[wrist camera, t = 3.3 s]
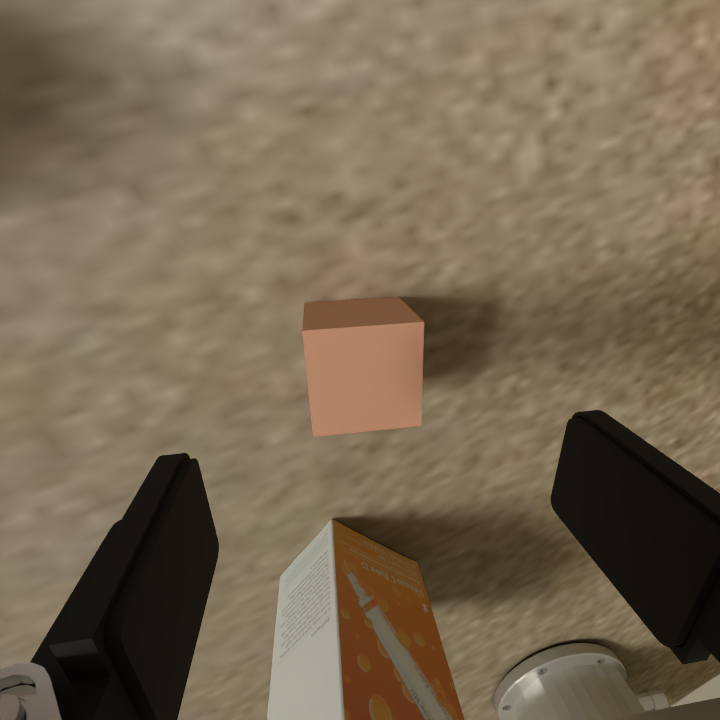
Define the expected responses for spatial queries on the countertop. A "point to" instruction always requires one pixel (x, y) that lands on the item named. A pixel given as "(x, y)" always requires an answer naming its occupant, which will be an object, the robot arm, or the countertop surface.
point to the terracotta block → (363, 365)
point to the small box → (357, 637)
